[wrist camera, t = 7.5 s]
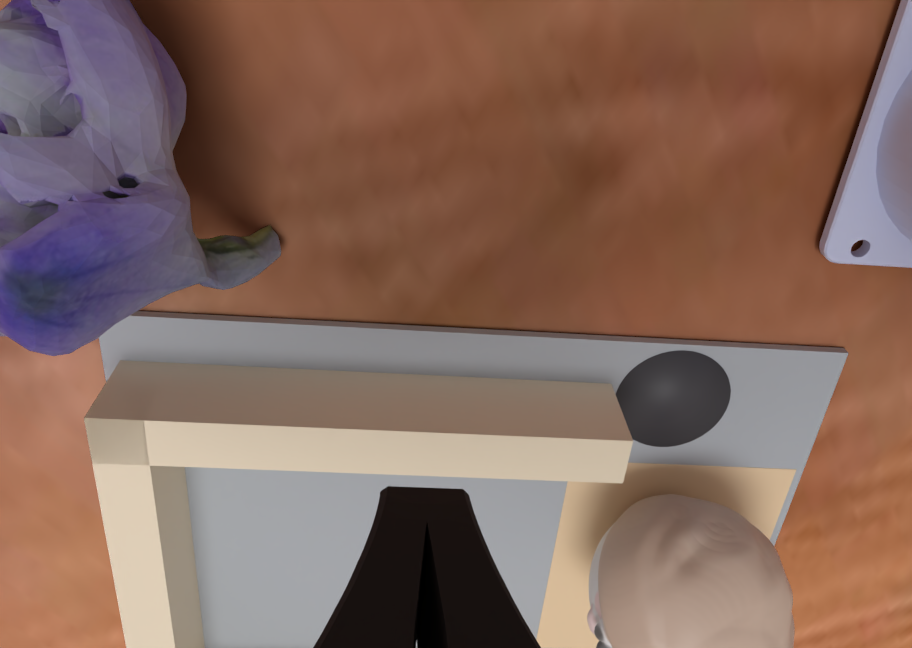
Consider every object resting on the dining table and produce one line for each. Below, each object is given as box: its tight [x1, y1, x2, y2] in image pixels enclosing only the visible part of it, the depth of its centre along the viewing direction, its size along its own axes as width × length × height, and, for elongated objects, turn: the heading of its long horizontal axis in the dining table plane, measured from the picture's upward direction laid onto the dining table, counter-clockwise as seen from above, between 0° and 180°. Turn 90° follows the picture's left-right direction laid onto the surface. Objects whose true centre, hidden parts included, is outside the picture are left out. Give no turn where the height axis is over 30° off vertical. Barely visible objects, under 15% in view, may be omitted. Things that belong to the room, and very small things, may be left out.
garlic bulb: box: [587, 494, 794, 648], centre depth 23 cm, size 7×6×8 cm
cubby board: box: [84, 311, 848, 648], centre depth 26 cm, size 22×17×3 cm
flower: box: [0, 0, 281, 356], centre depth 17 cm, size 9×8×10 cm
